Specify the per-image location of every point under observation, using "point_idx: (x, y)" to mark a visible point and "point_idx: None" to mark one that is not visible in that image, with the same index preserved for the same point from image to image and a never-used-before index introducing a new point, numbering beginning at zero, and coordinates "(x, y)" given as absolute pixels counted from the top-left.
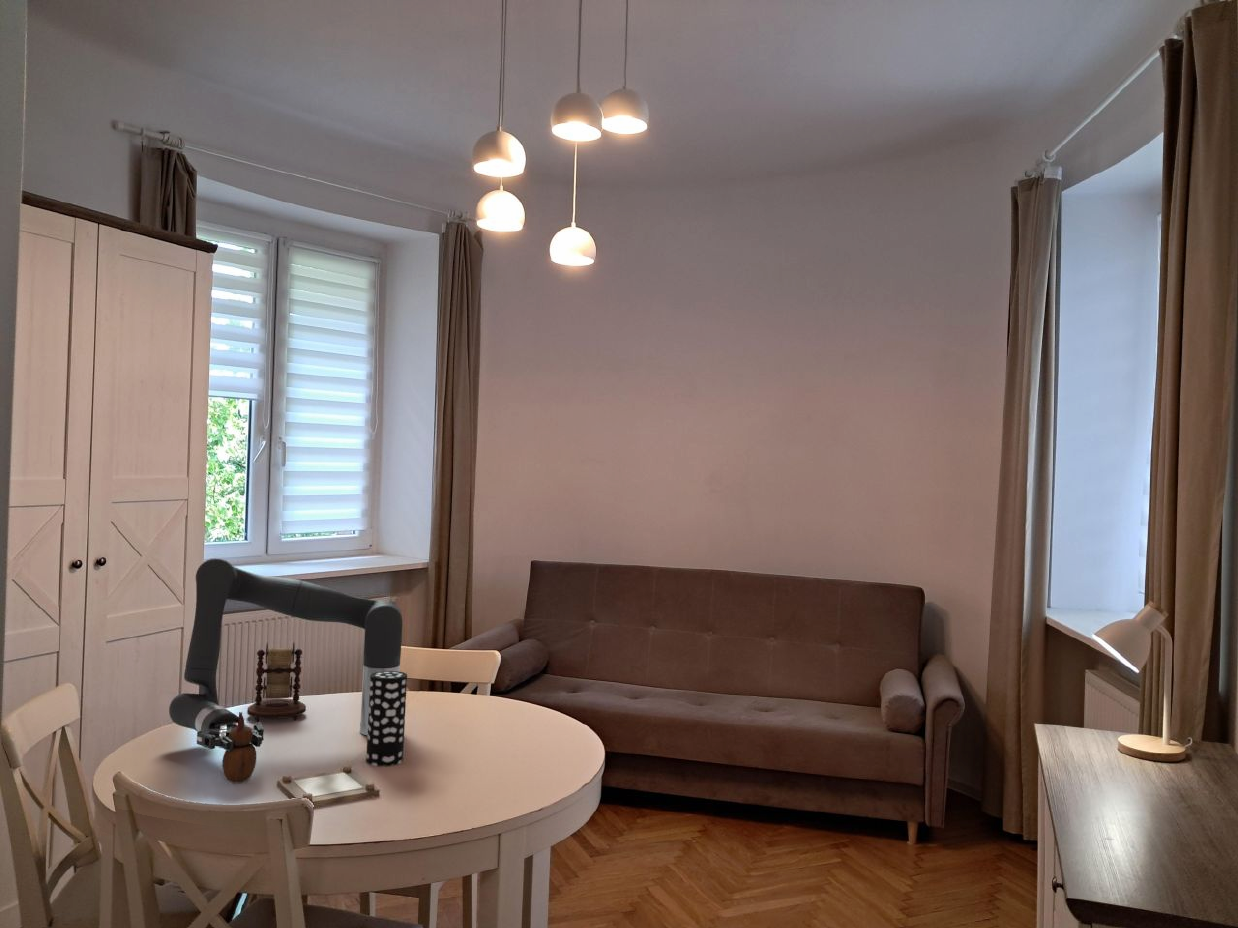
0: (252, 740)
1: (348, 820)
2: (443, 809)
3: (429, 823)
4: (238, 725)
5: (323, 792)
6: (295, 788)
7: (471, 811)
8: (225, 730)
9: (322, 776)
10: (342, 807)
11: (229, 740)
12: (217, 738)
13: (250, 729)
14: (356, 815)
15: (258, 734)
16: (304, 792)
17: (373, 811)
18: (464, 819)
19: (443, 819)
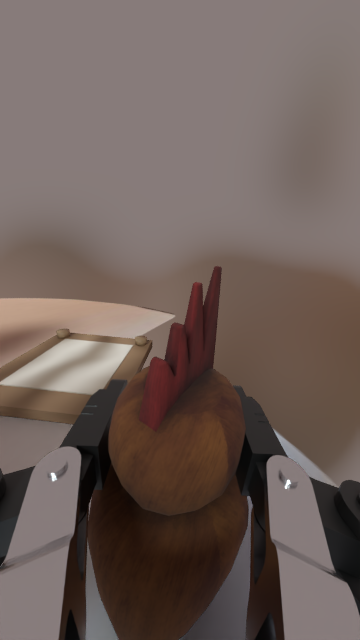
0: (108, 452)
1: (136, 323)
2: (68, 311)
3: (100, 307)
4: (212, 338)
5: (111, 346)
6: (123, 371)
7: (62, 306)
8: (285, 579)
9: (43, 387)
10: (117, 336)
11: (241, 394)
12: (321, 507)
13: (141, 372)
14: (123, 325)
15: (66, 437)
16: (126, 357)
17: (106, 324)
18: (80, 304)
19: (88, 307)
